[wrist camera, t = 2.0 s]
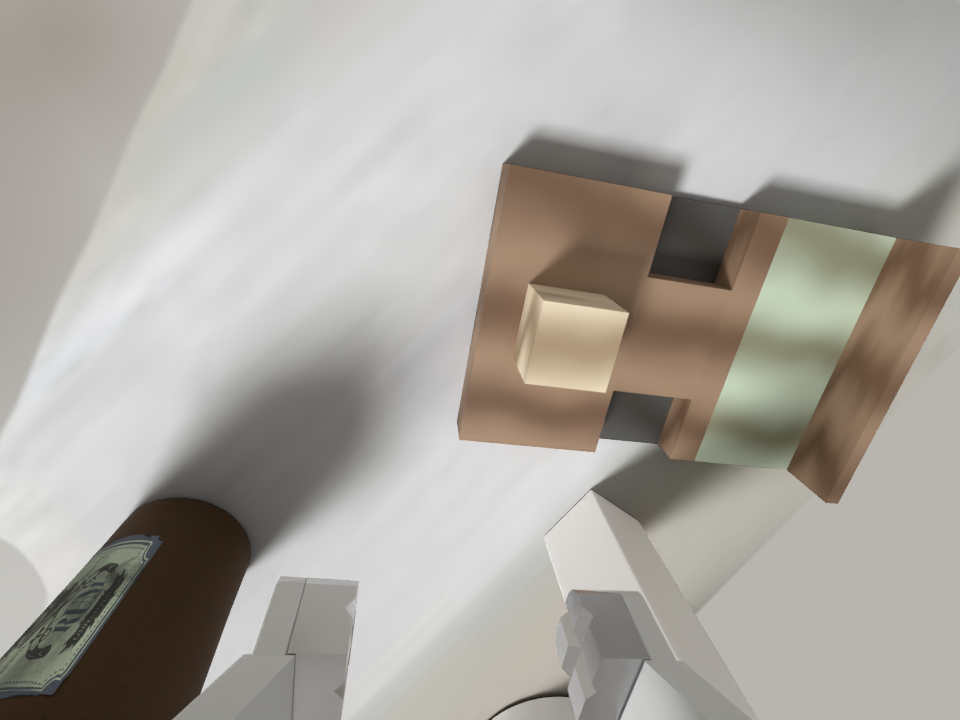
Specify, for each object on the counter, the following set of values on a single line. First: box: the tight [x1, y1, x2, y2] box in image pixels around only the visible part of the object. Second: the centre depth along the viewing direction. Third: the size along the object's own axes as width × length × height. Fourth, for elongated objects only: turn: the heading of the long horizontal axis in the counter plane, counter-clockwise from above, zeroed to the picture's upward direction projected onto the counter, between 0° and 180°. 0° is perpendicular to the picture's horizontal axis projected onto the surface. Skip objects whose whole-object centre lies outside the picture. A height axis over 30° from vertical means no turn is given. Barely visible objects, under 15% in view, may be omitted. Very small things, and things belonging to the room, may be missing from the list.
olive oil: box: [0, 498, 251, 720], centre depth 26 cm, size 11×11×25 cm
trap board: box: [457, 164, 960, 504], centre depth 32 cm, size 18×27×6 cm, turn 80°
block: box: [513, 283, 629, 393], centre depth 29 cm, size 5×5×4 cm
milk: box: [544, 490, 758, 720], centre depth 31 cm, size 6×6×22 cm
